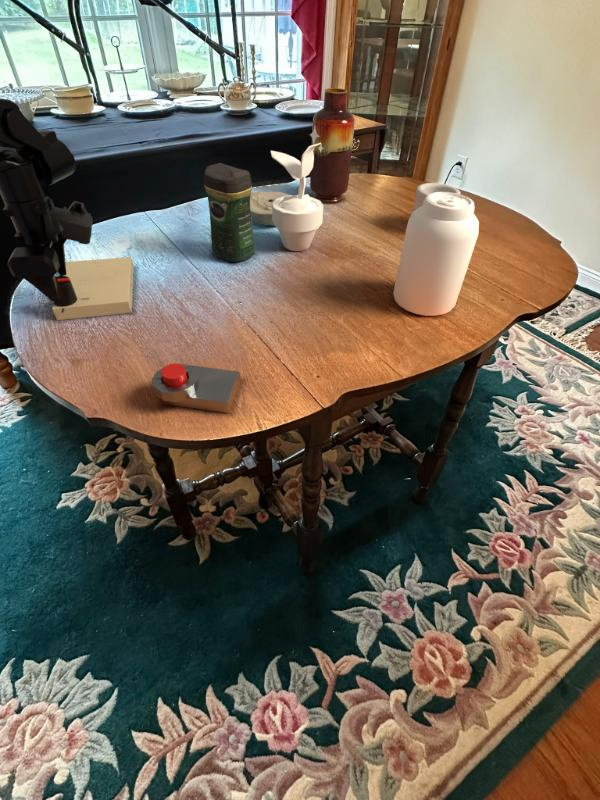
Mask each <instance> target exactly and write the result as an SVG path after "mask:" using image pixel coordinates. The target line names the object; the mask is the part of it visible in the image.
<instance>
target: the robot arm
mask: <svg viewBox="0 0 600 800" xmlns="http://www.w3.org/2000/svg"><path fill="white" fill-rule="evenodd" d="M20 108H21V107H20V106H19V105H18V103H16V102H15V101H12V100H11V99H7V98H0V148H8V149H2V150H0V196H1V199H2V201H3V203H4V207H3V209H2V212H3V215H4V216H5V218H7V217H8V218H9V217H10V219H11V221H12V225H13V226H14V229H15V231H16V232H15V234H14V236H13V237H14V239H15V242H16V244H22V243H23V244H24V243H26V245H29V246H20V247H15V248H14V250H13V251H12V253H11V254H10V257H9V259H8V260H7V264H6V265H7V267H8V269H9V271H10V273H11V275H12V276H13V277H15V278H20V279H23V280H25V281H26V282H28V283H29V284H30V285H32V286H33V287H34V288H36V289H37V290H38V291H40V293H41V294H42V295H44V296H45V297H46V298H47V299H48V300H49V301H50V302H52V303H53V302H58V301H59V294H58V289H57V284H56V280H55V276H56V275H57V274H58V276H65V275H66V274H67V272H66V262H67V261H66V254H65V243H66V242H67V240H69V241H72V242H77V243H79V244H81V245H89V244H90V243H91V239H92V238H91V237H92V233H93V232H92V230H93V220H94V219H93V217H92V213H89V212H88V210H87V208H86V206H85V204H84V203H83V202H79V201H77V200H73V202H72V203H71V204H70V205H69V207H66V206H63V208H61V207H56V206H55V204H54V201H53V199H52V198H50V196H46V194H45V192H44V190H43V187H48V186H51V185H53V184H56V183H57V182H59V181H61V180H63V179H65V178H67V177H69V176H71V175H73V174H74V172H75V171H76V167H77V165H76V159H75V155H74V154H73V153H72V151H71V150H70V149H69V146H67V145H66V144H65V143H64V142H63V141H61V140H60V139H59V138H58V136H57V133H56V131H55V130H50V129H42V130H40V131H39V130H38V129H37V127H35V126H34V124H32V123H31V122H30V121H29V120H28V118H26V116H25V115H24V114H23V112H22V111H21V109H20ZM11 149H14V150H11Z"/></svg>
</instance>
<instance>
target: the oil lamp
mask: <svg viewBox="0 0 600 800" xmlns="http://www.w3.org/2000/svg"><path fill="white" fill-rule="evenodd" d="M284 196H291V194H289V193H285V192H281V191H252V192H251V196H250V210H251V218H252V219H254V221H255V222H257V223H258V224H261V225H263V226H274V224H273V221H272V203H273V202H274V201H275V200H276V199H277V198H280V197H284Z"/></svg>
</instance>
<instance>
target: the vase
mask: <svg viewBox="0 0 600 800" xmlns="http://www.w3.org/2000/svg"><path fill="white" fill-rule="evenodd" d="M323 94H324V95H323V107H322V108H320V109H319V110H317V112H315V114H314V116H313V118H312V132H311V134H312V133H313V131H314V127H315V129H316V133H317V135H319V136H320V137H317V138H316V139H315V142H314V144H318V143H321V144H320V145H321V146H322V148H324V149H322V150H321V152H320V150H319V147H320V145H317V146H315V148H314V151H313V153H314V163H313V168H312V170H311V172H310V173H309V176H310V177H309V188H310V190H311V191H312V192H313V193H312V197H313V198H315V199H317V200H319V201H321V203H322V204H338V203H340V202H343V200H344V195H343V194H346V192H347V191H348V189H349V182H350V180H349V179H350V174H351V173H350V171H351V162H352V154H353V143H354V135H355V123H356V120H355V116H354V115H353V113H352V112H350V111H349V110H348V109H347V104H348V90H347V89H345V88H339V87H328V88H325V89H324V93H323ZM311 145H313V139H312V138H311Z"/></svg>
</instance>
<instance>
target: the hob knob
mask: <svg viewBox="0 0 600 800" xmlns="http://www.w3.org/2000/svg"><path fill="white" fill-rule="evenodd" d="M55 280H56V284H57V289H58V294H59V301H58V302H52V303H53V305H54V304H55V305H56V306H59V307H65V306H69V305H72V304H74V303H75V302H76V301H77V296H76V294H75V291H74V288H73V286H72V283H71V280H70V278H69V277H67V276H61V275H55Z"/></svg>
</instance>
